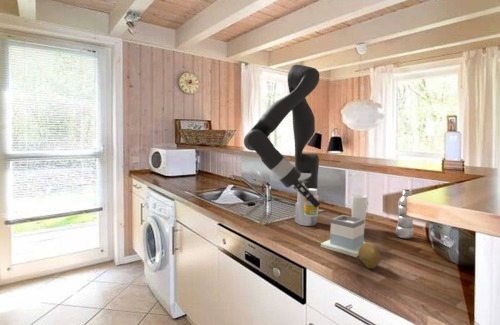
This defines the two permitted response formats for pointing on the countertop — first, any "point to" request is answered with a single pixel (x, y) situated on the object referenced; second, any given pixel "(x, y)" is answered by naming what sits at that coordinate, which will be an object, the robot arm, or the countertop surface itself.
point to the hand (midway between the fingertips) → (316, 203)
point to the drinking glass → (359, 206)
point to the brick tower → (346, 235)
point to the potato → (369, 255)
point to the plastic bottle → (404, 217)
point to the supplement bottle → (308, 206)
